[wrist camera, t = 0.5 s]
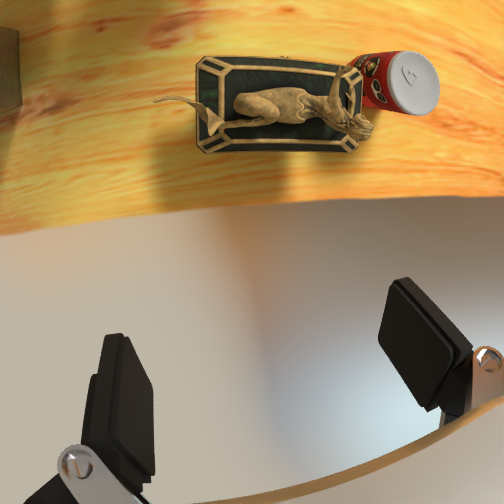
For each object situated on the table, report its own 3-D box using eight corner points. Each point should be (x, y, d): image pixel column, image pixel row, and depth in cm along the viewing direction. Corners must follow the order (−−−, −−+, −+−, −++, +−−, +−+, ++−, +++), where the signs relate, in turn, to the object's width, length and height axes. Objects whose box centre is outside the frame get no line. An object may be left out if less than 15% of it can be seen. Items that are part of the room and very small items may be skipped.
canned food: (354, 45, 34) (402, 37, 24) (396, 73, 37) (448, 76, 27) (334, 90, 37) (380, 93, 27) (379, 116, 39) (428, 128, 30)
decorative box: (324, 70, 35) (424, 65, 18) (321, 138, 40) (413, 179, 23) (166, 66, 32) (146, 37, 15) (167, 141, 36) (151, 185, 19)
